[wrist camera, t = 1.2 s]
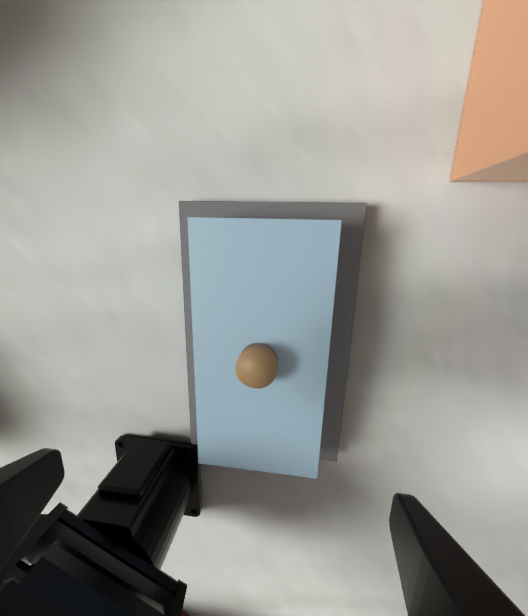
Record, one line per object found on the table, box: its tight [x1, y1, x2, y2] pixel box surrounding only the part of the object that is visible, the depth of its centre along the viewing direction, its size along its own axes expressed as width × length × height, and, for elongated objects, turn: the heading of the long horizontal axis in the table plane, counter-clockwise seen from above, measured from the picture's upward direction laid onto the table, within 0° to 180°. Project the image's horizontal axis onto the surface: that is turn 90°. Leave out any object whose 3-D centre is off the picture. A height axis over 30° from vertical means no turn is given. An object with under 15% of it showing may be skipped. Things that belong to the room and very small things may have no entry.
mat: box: [179, 201, 367, 461], centre depth 17 cm, size 16×10×1 cm, turn 178°
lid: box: [187, 217, 342, 479], centre depth 15 cm, size 14×7×4 cm, turn 178°
